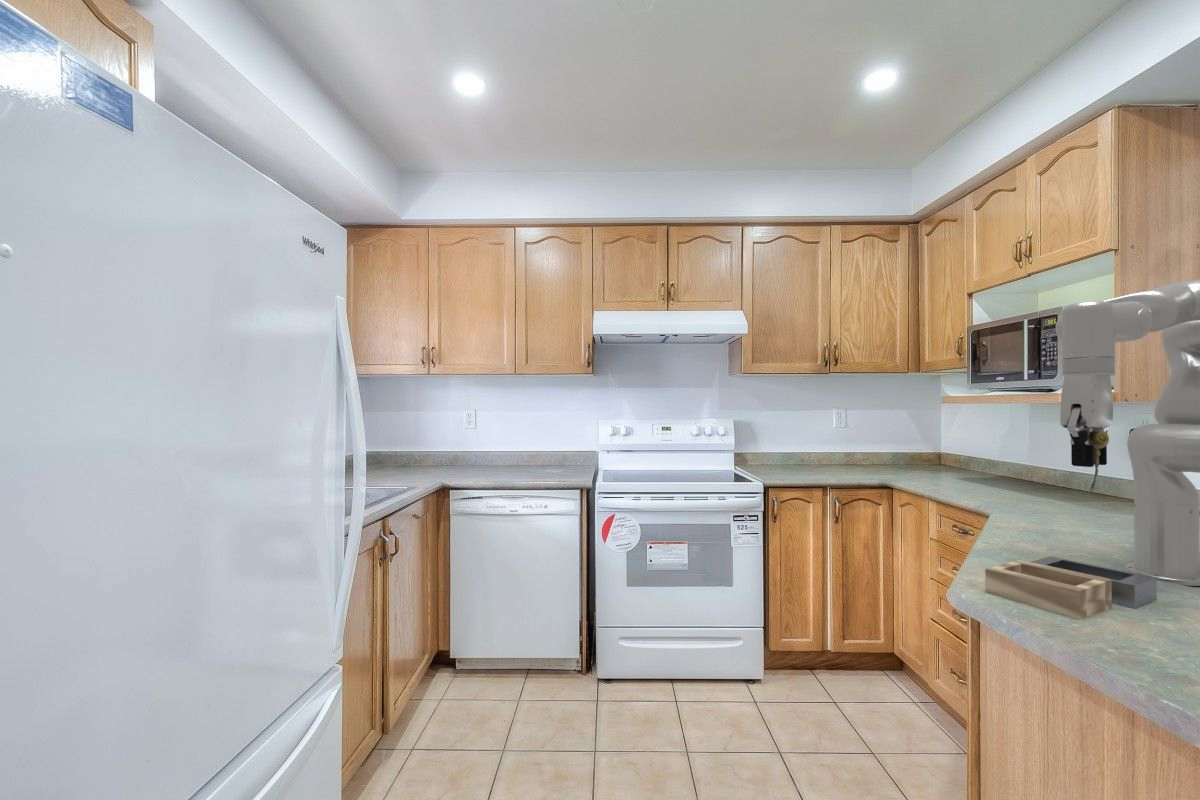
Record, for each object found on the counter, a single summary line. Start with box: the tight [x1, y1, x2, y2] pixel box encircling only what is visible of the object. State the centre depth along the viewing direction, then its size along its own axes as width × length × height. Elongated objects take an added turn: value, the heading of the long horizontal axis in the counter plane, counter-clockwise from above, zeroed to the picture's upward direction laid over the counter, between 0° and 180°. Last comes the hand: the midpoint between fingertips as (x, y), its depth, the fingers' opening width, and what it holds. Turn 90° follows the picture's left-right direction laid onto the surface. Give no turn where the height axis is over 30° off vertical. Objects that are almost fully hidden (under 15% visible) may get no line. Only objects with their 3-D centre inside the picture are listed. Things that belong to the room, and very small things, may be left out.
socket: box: [984, 559, 1113, 620], centre depth 100 cm, size 12×14×5 cm
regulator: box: [1079, 425, 1110, 492], centre depth 107 cm, size 8×4×15 cm, turn 169°
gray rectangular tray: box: [1030, 555, 1157, 610], centre depth 106 cm, size 9×16×4 cm, turn 29°
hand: (1089, 464), depth 106 cm, fingers closed on regulator, 4 cm apart
